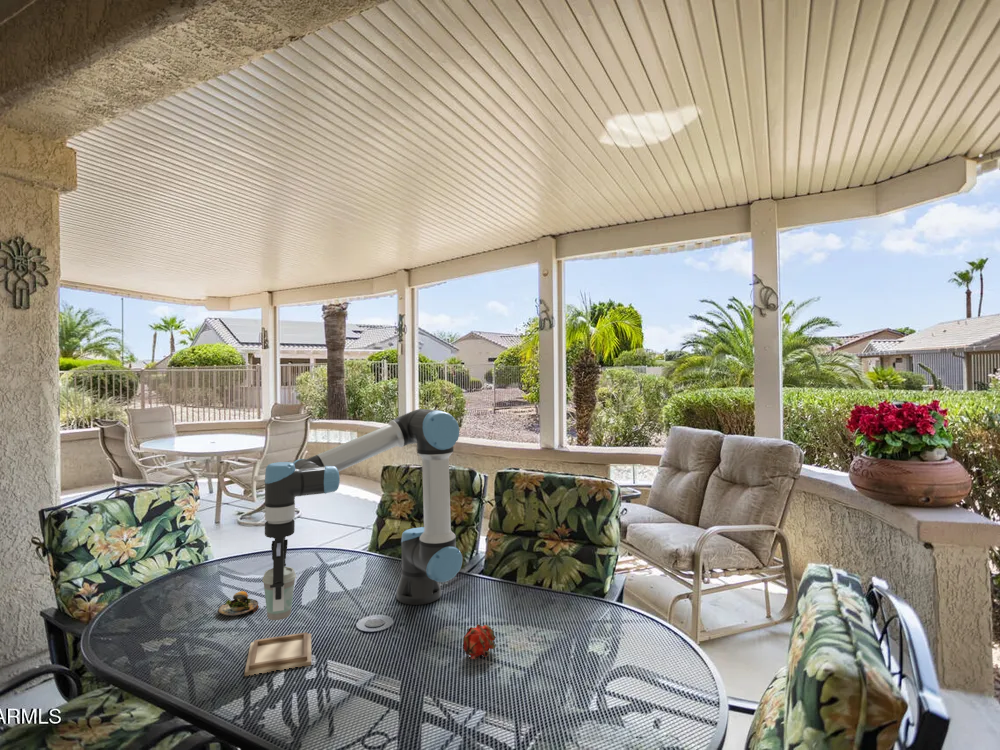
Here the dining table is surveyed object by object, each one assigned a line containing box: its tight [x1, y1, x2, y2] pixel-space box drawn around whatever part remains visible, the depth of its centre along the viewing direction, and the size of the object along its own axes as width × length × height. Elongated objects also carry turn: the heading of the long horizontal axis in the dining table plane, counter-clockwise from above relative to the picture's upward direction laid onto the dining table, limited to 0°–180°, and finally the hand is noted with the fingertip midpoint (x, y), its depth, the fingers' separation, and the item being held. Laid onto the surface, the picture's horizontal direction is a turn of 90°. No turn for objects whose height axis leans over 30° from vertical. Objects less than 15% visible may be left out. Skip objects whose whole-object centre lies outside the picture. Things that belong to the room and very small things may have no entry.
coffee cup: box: [261, 566, 297, 621], centre depth 147 cm, size 9×8×12 cm
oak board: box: [244, 632, 312, 677], centre depth 148 cm, size 16×16×2 cm
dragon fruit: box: [462, 623, 497, 661], centre depth 148 cm, size 8×8×12 cm
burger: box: [217, 587, 260, 616], centre depth 175 cm, size 12×12×8 cm
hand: (279, 603), depth 147 cm, fingers closed on coffee cup, 9 cm apart
